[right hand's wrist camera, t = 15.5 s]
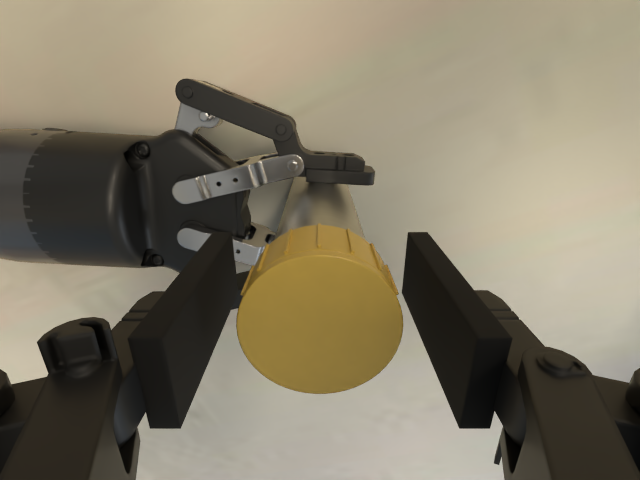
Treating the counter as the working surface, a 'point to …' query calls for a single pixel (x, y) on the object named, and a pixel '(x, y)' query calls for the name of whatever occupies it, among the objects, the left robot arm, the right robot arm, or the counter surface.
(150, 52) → the counter surface
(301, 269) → the lid
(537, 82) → the counter surface
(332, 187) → the jar
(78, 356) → the right robot arm
